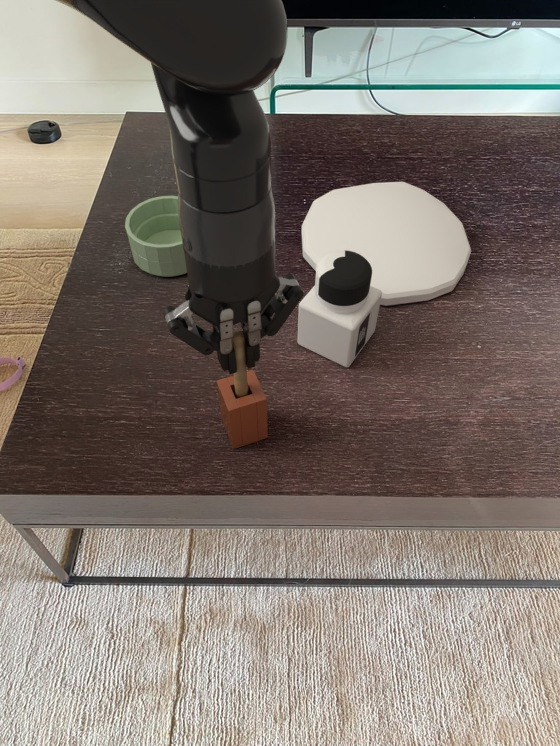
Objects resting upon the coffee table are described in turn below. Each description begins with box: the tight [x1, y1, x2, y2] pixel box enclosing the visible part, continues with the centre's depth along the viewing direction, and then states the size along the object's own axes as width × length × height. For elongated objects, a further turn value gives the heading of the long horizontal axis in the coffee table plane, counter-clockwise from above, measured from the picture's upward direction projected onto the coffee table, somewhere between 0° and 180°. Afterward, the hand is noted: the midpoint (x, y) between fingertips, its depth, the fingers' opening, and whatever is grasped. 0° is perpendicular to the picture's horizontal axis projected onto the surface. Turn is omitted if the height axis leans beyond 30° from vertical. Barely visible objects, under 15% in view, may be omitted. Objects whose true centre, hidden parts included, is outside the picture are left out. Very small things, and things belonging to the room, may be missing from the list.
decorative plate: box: [300, 181, 472, 307], centre depth 91 cm, size 25×4×25 cm
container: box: [296, 250, 382, 368], centre depth 77 cm, size 8×8×13 cm
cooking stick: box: [232, 329, 248, 399], centre depth 66 cm, size 1×1×17 cm
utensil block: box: [216, 369, 269, 450], centre depth 70 cm, size 4×4×8 cm
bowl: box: [124, 195, 187, 278], centre depth 90 cm, size 11×11×6 cm
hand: (239, 364), depth 64 cm, fingers closed on cooking stick, 1 cm apart
